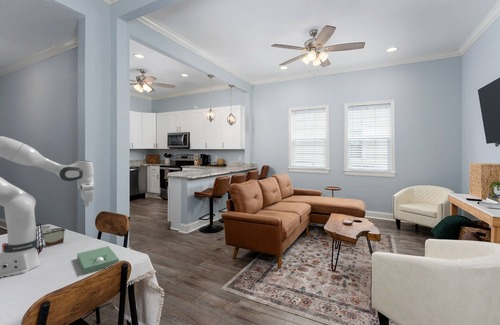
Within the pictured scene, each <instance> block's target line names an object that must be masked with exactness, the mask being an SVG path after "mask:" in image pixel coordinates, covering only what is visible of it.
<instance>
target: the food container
mask: <svg viewBox="0 0 500 325" xmlns="http://www.w3.org/2000/svg"><path fill="white" fill-rule="evenodd" d="M65 232H66V229H65V228H64V227H53V228H51V229H49V230H46V231H44V232H43V234H42V236H44V239H43V241H44V245H45V246H44V248H49V247H53V246H57V245H61V244H64V239H65Z"/></svg>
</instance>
